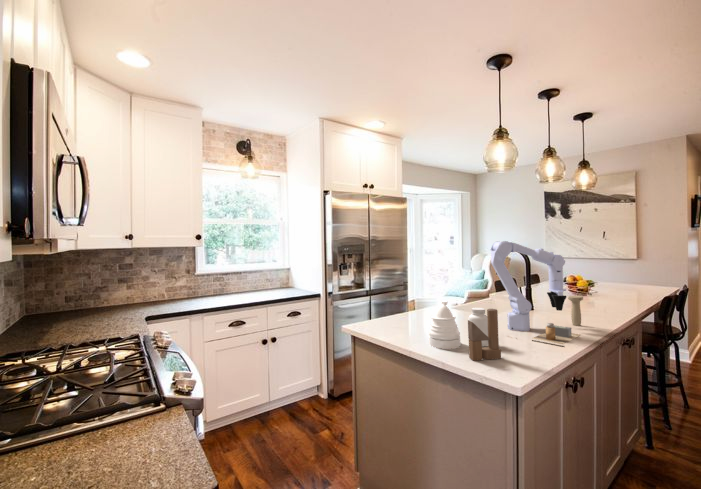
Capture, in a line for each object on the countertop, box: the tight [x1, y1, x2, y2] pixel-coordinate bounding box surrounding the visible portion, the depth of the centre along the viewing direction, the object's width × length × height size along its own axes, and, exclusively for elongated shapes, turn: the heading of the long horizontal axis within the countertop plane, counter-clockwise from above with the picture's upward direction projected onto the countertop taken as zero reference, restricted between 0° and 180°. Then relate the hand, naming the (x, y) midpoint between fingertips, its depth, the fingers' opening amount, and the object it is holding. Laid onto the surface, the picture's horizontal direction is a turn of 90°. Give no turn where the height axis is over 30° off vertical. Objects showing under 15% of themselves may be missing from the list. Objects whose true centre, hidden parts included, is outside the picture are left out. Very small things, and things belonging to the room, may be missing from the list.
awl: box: [545, 322, 556, 340], centre depth 140 cm, size 3×3×6 cm
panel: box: [531, 331, 581, 348], centre depth 143 cm, size 20×12×1 cm, turn 128°
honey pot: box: [428, 300, 461, 350], centre depth 142 cm, size 13×13×18 cm
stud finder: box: [554, 324, 573, 338], centre depth 145 cm, size 4×7×4 cm, turn 42°
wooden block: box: [467, 308, 502, 362], centre depth 123 cm, size 4×11×18 cm, turn 96°
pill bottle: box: [468, 307, 488, 348], centre depth 140 cm, size 8×8×15 cm
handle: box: [567, 295, 584, 327], centre depth 161 cm, size 5×6×15 cm
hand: (556, 308), depth 156 cm, fingers open, 7 cm apart
